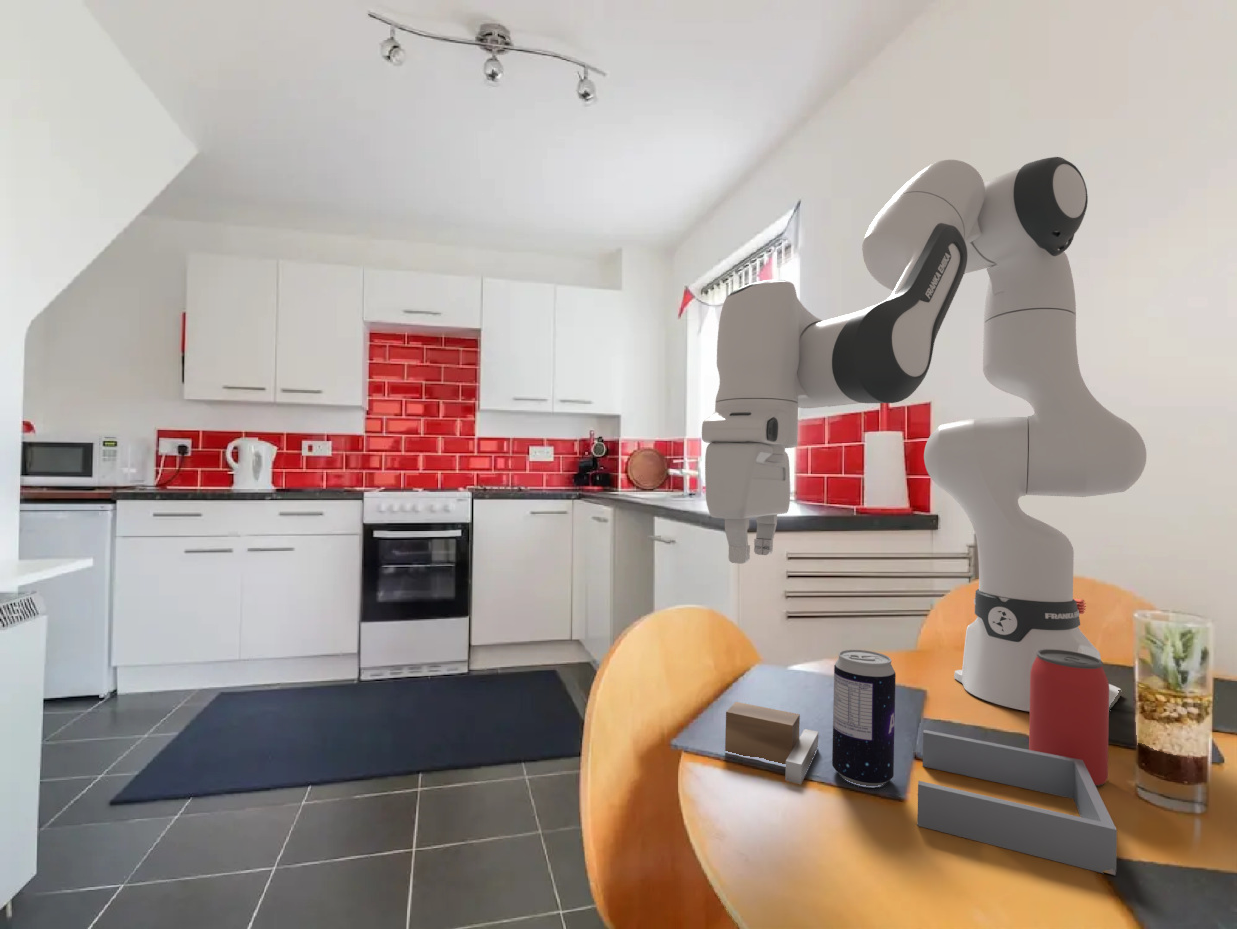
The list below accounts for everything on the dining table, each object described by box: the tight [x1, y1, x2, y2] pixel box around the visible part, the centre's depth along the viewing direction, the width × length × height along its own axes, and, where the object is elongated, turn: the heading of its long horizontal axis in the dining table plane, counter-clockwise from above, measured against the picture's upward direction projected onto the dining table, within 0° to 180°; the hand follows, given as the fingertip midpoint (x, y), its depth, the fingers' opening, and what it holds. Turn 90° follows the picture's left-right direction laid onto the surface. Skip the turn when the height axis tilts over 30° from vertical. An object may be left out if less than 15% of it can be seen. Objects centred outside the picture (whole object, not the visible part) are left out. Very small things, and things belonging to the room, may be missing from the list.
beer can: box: [1028, 649, 1110, 787], centre depth 64 cm, size 7×7×12 cm
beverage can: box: [831, 649, 897, 786], centre depth 62 cm, size 6×6×12 cm
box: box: [916, 729, 1118, 874], centre depth 57 cm, size 14×14×4 cm
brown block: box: [724, 701, 819, 785], centre depth 67 cm, size 9×8×4 cm
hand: (751, 558), depth 68 cm, fingers open, 8 cm apart
